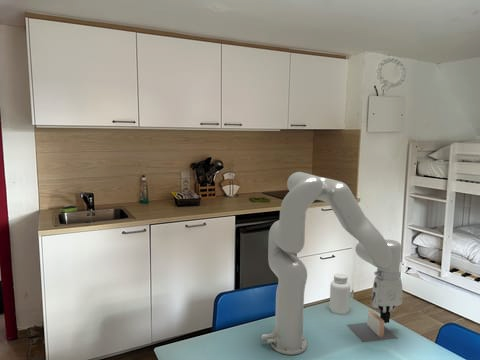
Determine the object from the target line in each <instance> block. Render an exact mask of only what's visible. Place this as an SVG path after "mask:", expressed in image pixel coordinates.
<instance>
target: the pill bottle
mask: <svg viewBox="0 0 480 360" xmlns="http://www.w3.org/2000/svg"><path fill="white" fill-rule="evenodd" d="M333 276H334V277H333V280H332V281H331V282H330V285H329V287H330V288H329V289H330V291H329V310H330V311H331V312H333V313H334V314H338V315H346V314H348V313H349V312H350V304H351V303H350V302H351V285H350V282H348V275H347V274H344V273H335V274H334V275H333Z"/></svg>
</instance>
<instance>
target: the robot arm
mask: <svg viewBox="0 0 480 360" xmlns="http://www.w3.org/2000/svg"><path fill="white" fill-rule="evenodd" d="M286 185H287V189H288V191H289V192H287V194H286V195H285V196H284V198H283V199H282V202H281V204H280V210H279V219H278V220H276V221H274V222H273V224H272V225H271V226H270V228H269V231H268V242H267V243H268V248H267V250H268V251H267V252H268V253H267V255H268V257H267V259H268V266H269V268H270V270H271V271H272V272H273V273H274V275H275V276H276V277H277V279H278V280H277V281H278V284H277V287H276V290H275V291H276V292H275V317H274V318H275V320H274V322H275V323H274V325H275V326H274V329H272V332H270V333H262V334H261V335H260V336H261V340H262V341H266V344H270V346H271V347H272V349H273V350H274V351H276V352H278V353H280V354H284V355H293V356H294V355H299V354H301V353H304V352H305V351H306V349H307V348H308V341H307V340H306V338H305V337H304V336H303V335H304V334H303V333H304V312H305V311H304V310H305V307H304V306H305V289H306V285H307V280H308V270H307V267H306V265H305V264H304V262H303V261H302V260H301V259H299V257H298V256H296V255H297V254H299V253H301V252H302V250H303V249H304V246H305V241H306V239H305V237H306V235H305V233H306V217H307V216H306V215H307V211H308V209H309V207H310V206H311V204H312V203H314V202H315V201H322V202H324V203H327V204H328V205H329V206H330V208H331V210H332V211H333V213H334V215H335V216H336V218H337V220H338V222H339V223H340V225H341V228H343V229H344V230H345V231H346V232H347V234H349V235H351V236H352V237H353V238H355V240H357V241H358V243H357V244H356V245H355V253H356V255H357V256H358V257H359V258H360V259H362V260H363V261H365V262H367V263H369V264H370V265H372V266H374V267H375V268H376V271H374V273H373V274H374V275H375V278H374V280H373V285H372V291H371V301H372V303H371V307H373V308H376V309H379V310H380V314H379V315H380V316H379V317H380V318H382V319H383V320H384V324H388V323H390V320H391V313H392V312H393V310H394V309H395V307H398V306H400V305H401V304H402V303H403V283H402V278H401V277H400V271H401V270H400V269H401V268H400V267H401V254H402V244H401V243H400V242H399V241H396V240H393V239H385V237H384V236H383V235H382V233H381V232H380V231H379V230H378V229H377V228H376V227H375V225H374V224H373V223H372V222H371V221H370V219H369V218H368V217H367V216H366V215H365V213H364V212H363V210H362V208H361V206H360V205H359V202H358V201H357V199H356V197H355V196H354V194H353V192H352V191H351V189H350V187H349V186H348V184H346V183H345V182H343V181H341V180H336V179H332V178H328V177H322V176H318V175H315V174H310V173H307V172H302V171H296V172H294V173H292V174H291V175H290V176H289V177H288V179H287V182H286Z"/></svg>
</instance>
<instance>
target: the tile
mask: <svg viewBox="0 0 480 360" xmlns="http://www.w3.org/2000/svg"><path fill="white" fill-rule="evenodd" d="M366 323H367V326H369V327H370V328H371V329H372V330H373V331H374V332H375V333H376V334H377V335H378V336H379V337H383V334H384V326H385V323H384V320H383V319H382V318H380V316H379V315H378V313H376V312H375V311H374V310H368V311H367V322H366Z"/></svg>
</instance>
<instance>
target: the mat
mask: <svg viewBox="0 0 480 360" xmlns="http://www.w3.org/2000/svg"><path fill="white" fill-rule="evenodd" d="M367 323H368V322H359V323H352V324H350V323H349V324H346V326H347V327H348V328H349V329H350V331H351V332H353V334H354V335H355V336H356V337H357V338H358V339H359V340H360V341H361V342H362V343H370V342H378V341H387V340H388V341H389V340H396V339H399V337H397V335H395V334H394V333H393V332H392V331H391V330H390V329H388V327H386V326H385V325H384V334H383V337H379V336H378V335H377V334H376V333H375V332H374V331H373V330H372V329H371V328H370V327H369V326H367Z"/></svg>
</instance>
